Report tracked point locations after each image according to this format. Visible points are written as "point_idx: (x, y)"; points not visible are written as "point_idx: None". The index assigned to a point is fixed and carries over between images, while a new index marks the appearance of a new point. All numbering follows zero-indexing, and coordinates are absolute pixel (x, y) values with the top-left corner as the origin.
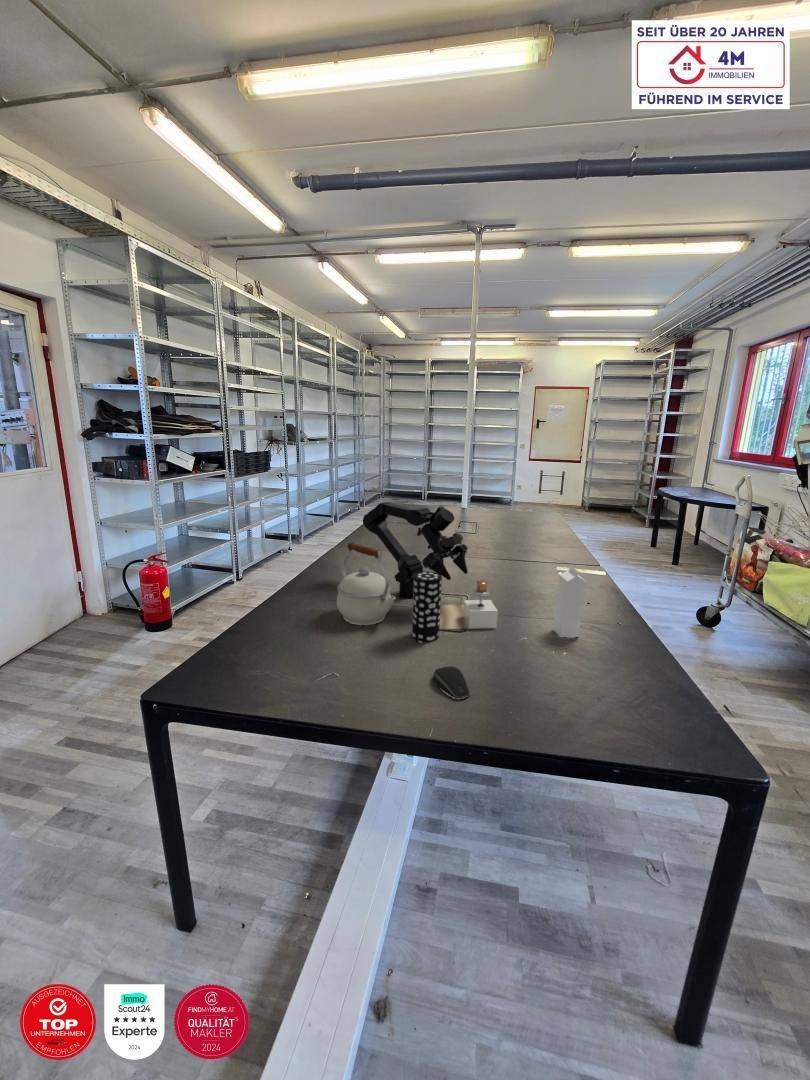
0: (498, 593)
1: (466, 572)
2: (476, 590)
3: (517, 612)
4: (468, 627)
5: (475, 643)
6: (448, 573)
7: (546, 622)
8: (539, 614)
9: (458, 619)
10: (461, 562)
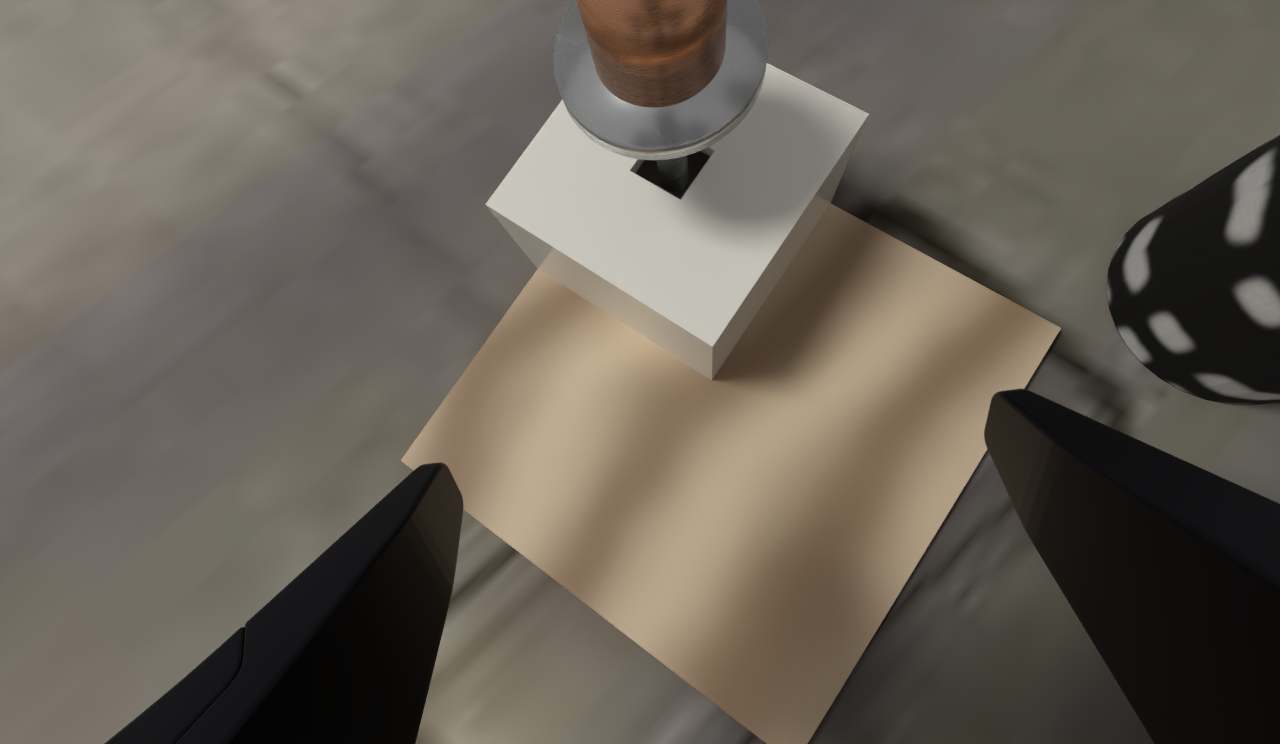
0: (90, 565)
1: (446, 480)
2: (700, 95)
3: (308, 224)
4: (822, 214)
5: (932, 46)
6: (1091, 449)
7: (306, 27)
8: (229, 125)
9: (787, 361)
10: (307, 729)
